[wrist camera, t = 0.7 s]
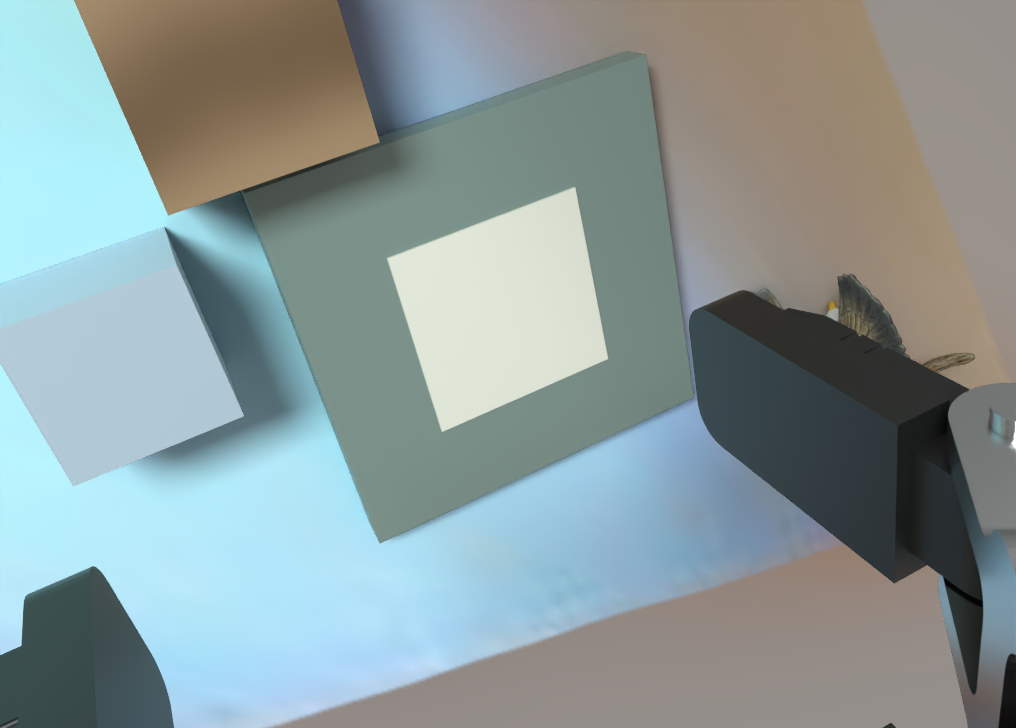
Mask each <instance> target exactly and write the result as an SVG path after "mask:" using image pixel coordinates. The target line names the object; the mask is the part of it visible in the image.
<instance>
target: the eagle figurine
mask: <svg viewBox="0 0 1016 728" xmlns="http://www.w3.org/2000/svg"><path fill="white" fill-rule="evenodd" d="M838 285H839V292H840V293H839V294H840V307H839V309H838V308H837V307H836V305H835V302H834V301H830V302H829V311H828V313H827V315H826V316H828V317H830V318H831V319H833V320H835V321H837V322H839V323H841V324H843V325H845V326H847V327H849V328H851V329H853V330H855V331H857V334H858V335H859V336H861V335H864V336H866V337H868V338H870V339H872V340H874V341H876V342H878V343H880V344H881V345H882V348H883V349H885V348H887V347H888V348H890V349H892V350H894V351H896V352H898V353H899V354H901V355H903V356H905V357H907V358H909V359H910V357H909V356H908V355H907V354H905V353H904V352H905V351H906V348H905V347H904V346H903V345H902V339H901V337H900V336H899V334H898V332H897V330H896V326H895V325H894V324H893V321H892V318H891V316H890V314H889V313H888V312H887V311H886V310H885V309H884V307H883V306H882V305H881V303H880V302H879V300H878V299H876V298H875V297H874V296H872V294H871V293H870V291H869V290H868V289H867V288H866V287H865V286H862V285H861V283H860V282H859V281H858V280H857V278H856V277H855V276H854V275H853V274H849V275H847V274H843V275H842V277H841V276H838ZM751 293H753V292H751ZM753 294H755V295H757V296H759V297H760V298H762V299H764V300H766V301H768V302H770V303H772V304H773V305H775V306H777V307H779V308H781V309H782V307H781V306H780V305H779V303H778V302H777V300H776V298H775V297H774V296H773V295H772V294H771V293H770V292H769V291H768V290H767V289H762V290H761V291H760V292H759V293H758V294H757V293H753ZM974 359H975V355H974V354H971V353H954V354H950V355H945V356H941V357H937V358H935V359H932V360H930V361H928V362H926V363H924V364H923V366H925V367H927V368H929V369H931V370H933V371H934V372H936V373H937V372H939V371H941V370H944V369H946V368H949V367H951V366H955V365H963V364H966V363H969V362H971V361H972V360H974Z"/></svg>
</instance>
